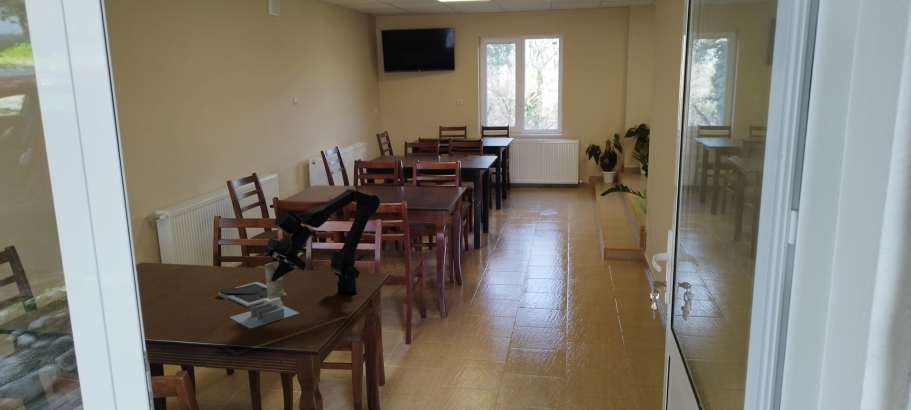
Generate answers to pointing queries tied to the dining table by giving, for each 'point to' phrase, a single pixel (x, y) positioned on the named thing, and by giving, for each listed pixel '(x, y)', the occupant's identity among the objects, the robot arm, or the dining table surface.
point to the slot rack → (263, 315)
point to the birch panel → (273, 286)
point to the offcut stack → (273, 301)
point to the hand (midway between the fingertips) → (270, 279)
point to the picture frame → (246, 294)
